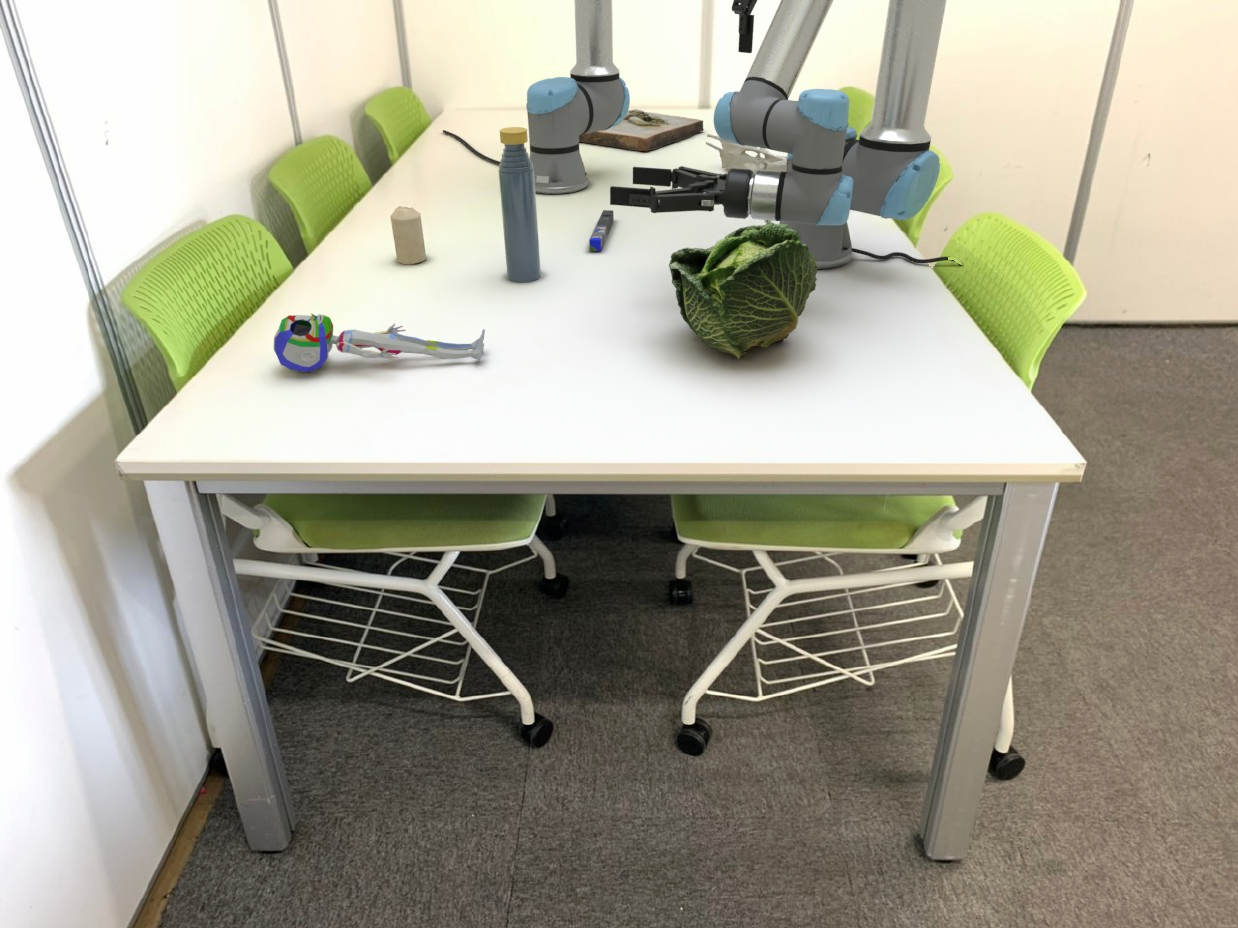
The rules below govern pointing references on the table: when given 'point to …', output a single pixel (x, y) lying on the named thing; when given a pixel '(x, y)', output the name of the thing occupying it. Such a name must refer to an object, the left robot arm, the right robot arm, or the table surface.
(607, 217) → the pillar
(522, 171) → the bottle
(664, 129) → the plaque
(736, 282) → the vegetable
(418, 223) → the candle
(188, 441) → the table surface
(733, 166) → the anatomical model
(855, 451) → the table surface
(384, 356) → the toy
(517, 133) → the cap
